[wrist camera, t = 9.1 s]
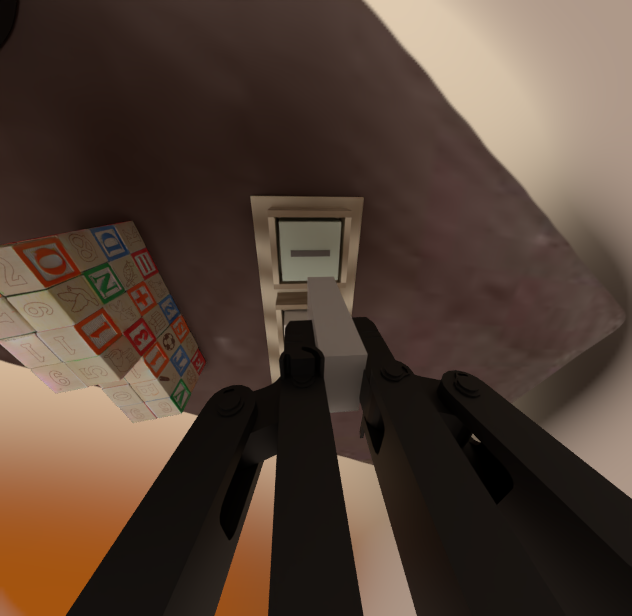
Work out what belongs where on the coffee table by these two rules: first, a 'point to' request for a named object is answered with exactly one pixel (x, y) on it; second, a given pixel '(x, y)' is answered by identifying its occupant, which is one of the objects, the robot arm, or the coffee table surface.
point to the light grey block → (309, 247)
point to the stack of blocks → (98, 319)
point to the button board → (270, 267)
